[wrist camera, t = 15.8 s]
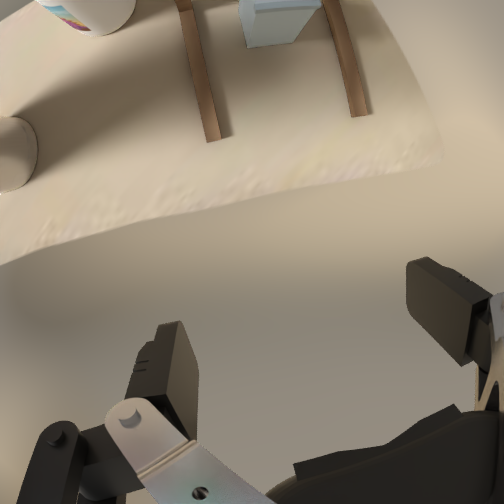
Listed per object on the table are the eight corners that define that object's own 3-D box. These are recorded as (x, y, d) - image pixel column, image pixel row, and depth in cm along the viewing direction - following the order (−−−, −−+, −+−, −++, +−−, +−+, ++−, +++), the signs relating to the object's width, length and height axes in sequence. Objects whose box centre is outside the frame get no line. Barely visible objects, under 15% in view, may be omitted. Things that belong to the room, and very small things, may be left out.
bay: (207, 142, 32) (202, 141, 25) (178, 6, 27) (167, -27, 19) (363, 115, 33) (397, 110, 25) (329, -13, 27) (353, -43, 20)
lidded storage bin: (246, 49, 29) (255, 10, 19) (237, 10, 28) (242, -39, 17) (293, 43, 29) (321, 5, 19) (283, 4, 28) (305, -43, 17)
